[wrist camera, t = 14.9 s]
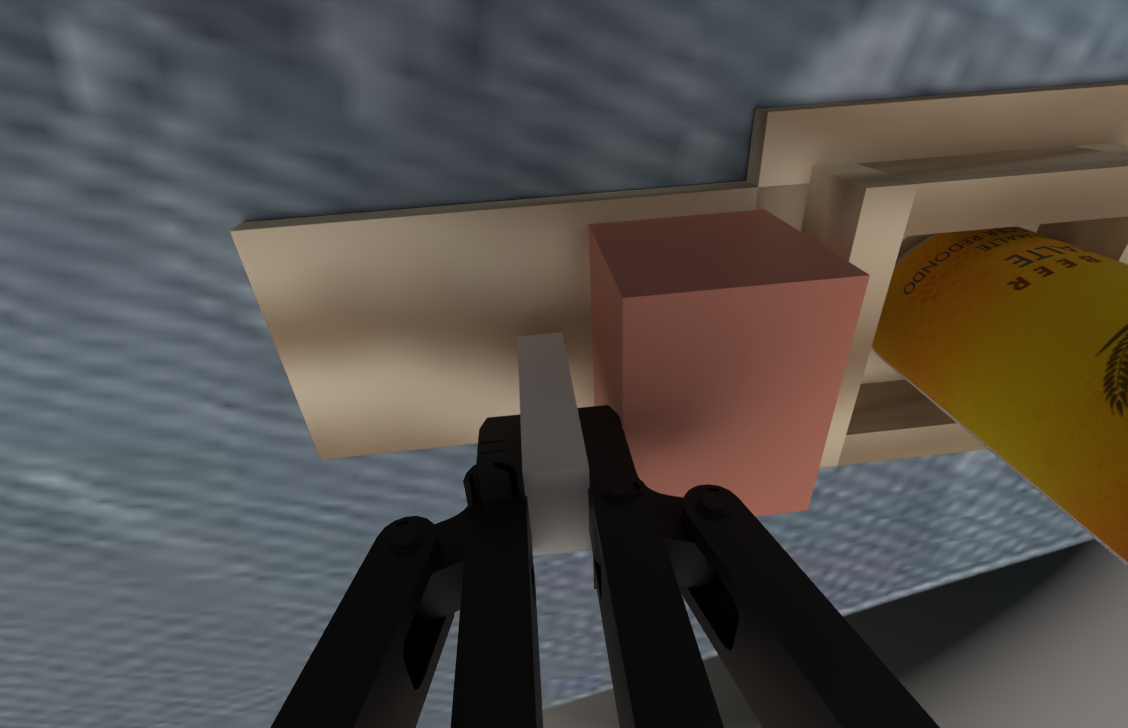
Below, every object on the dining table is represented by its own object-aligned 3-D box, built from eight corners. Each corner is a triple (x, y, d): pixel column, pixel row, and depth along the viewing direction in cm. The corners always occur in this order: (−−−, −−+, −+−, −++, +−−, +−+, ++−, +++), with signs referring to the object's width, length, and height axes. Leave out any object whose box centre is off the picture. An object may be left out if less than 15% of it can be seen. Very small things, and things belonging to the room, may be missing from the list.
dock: (215, 149, 16) (137, 177, 13) (1160, 78, 18) (1317, 85, 14) (342, 482, 23) (314, 557, 20) (1002, 411, 25) (1080, 469, 21)
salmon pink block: (588, 224, 17) (622, 298, 12) (764, 209, 18) (870, 275, 12) (595, 416, 21) (622, 531, 16) (737, 401, 22) (807, 510, 17)
